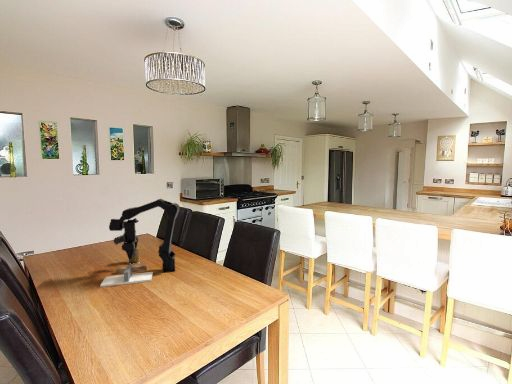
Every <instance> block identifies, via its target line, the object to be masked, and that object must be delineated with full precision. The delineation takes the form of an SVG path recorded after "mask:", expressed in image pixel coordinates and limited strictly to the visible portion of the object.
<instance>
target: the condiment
mask: <svg viewBox="0 0 512 384" xmlns="http://www.w3.org/2000/svg"><path fill="white" fill-rule="evenodd" d="M138 245H139V244H138V243H137V246H136V249H135V252H134V254H133V255H132V258H131V260H129V259H128V261H127V260H126V263H127V264H128V266H135V265H140V264H141V263H140V262H139V261H140V254H139V251H140V250H139V249H140V248H139V246H138ZM128 262H129V263H131V264H129V263H128ZM137 262H139V263H138V264H136V263H137ZM133 263H135V265H134V264H133Z"/></svg>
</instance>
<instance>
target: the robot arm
mask: <svg viewBox="0 0 512 384" xmlns="http://www.w3.org/2000/svg"><path fill="white" fill-rule="evenodd" d="M155 208H161V210H164V211H166V214H167V221H166V228H165V232H164V233H165V234H164V238H163V242H162V243H161V244H160V245H159V246H158V251H157V254H158V257H159V258H160V259H161V260H162V262H161V263H162V266H161V267H162V271H163V273H171V272H176V259H175V258H176V253H175V252H174V251H173V249H172V248H173V247H172V240H173V239H172V238H173V233H174V228H175V223H176V219H177V217H178V215H179V212H180V205H179V203H176V202H171V201H167V200H165V199H163V198H159V199H156V200H154V201H151V202H149V203H146V204H143V205H141V206H140V205H139V206H135V207H134V206H133V207H129V208H126V209H124V210H122V212H121V216H120V217H119V218H111V219H110V222H109V224H108V229H109V231H110V232H116V231H117V232H119V231H121V232H122V231H123V230H124V232H123V234H122V235H120V236H117V237H115V238H113V244H115V245H116V246H117V245H119V244H121V243H122V245H121V250H122V251H124V252H125V253H126V256H127V259H128V261H129V260H131V258H132V255H133V254H134V252H135V249H136V246H137V244H138V243H139V236H138V235H136V234H137V231H136V224H137V223H139V221H140V220H138V219H137V217H136V216H138V215H140V214H141V213H144V212H146V211H150V210H153V209H155ZM134 217H136V218H134ZM132 218H133V219H132Z"/></svg>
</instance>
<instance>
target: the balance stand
mask: <svg viewBox="0 0 512 384" xmlns="http://www.w3.org/2000/svg"><path fill="white" fill-rule="evenodd" d="M131 266H132V265H127V266H125V267H126V269H125V271H124V273H123V274H116V275H107V276H105V277H104V279H103V281H102V282H101V284H100V286H99V287H100V288H104V287H105V288H106V287H111V286H112V287H113V286H123V285H128V284H129V285H130V284H137V283H146V282H147V283H149V282H152V279H153V273H154V272H153V271H148V272H138V273H136V272H135V273H133V272H131Z"/></svg>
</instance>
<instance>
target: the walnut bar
mask: <svg viewBox="0 0 512 384" xmlns="http://www.w3.org/2000/svg"><path fill="white" fill-rule="evenodd" d="M130 266H131V272H132V273H136V272H143V271H144V270H145V271H147V270H148V268H147V267H148V265H147V263H146V264H135V265H130ZM126 267H127V266H121V267H116V268H115V271H116V272H115V275H124V271H125V269H126Z"/></svg>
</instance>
